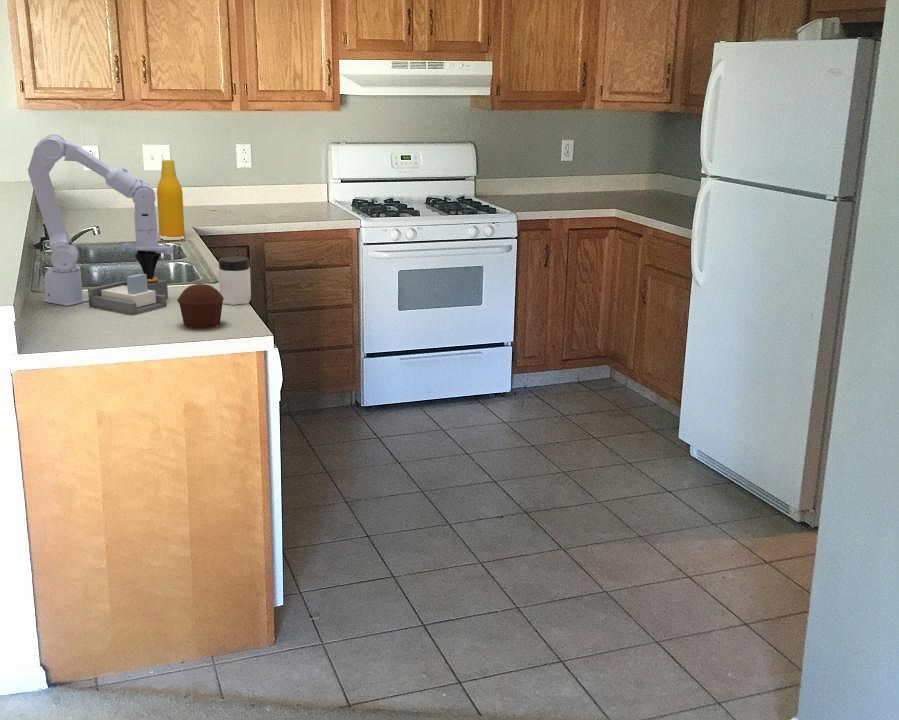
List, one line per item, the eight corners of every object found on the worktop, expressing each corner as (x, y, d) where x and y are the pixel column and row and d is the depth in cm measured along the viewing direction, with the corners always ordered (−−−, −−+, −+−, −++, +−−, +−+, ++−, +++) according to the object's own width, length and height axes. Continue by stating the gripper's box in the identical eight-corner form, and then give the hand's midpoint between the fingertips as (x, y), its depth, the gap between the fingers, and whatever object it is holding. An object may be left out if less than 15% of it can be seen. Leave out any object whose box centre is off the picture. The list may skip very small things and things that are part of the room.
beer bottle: (169, 236, 371) (165, 159, 362) (190, 238, 367) (186, 160, 359) (154, 239, 362) (149, 160, 354) (175, 241, 359) (170, 162, 351)
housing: (89, 307, 259) (87, 288, 258) (143, 294, 275) (142, 276, 274) (132, 315, 252) (131, 296, 250) (186, 301, 268) (185, 283, 266)
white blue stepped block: (102, 301, 259) (99, 273, 257) (124, 296, 266) (122, 269, 263) (134, 307, 254) (132, 279, 252) (156, 302, 260) (154, 274, 258)
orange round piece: (138, 293, 268) (137, 278, 267) (150, 291, 272) (149, 275, 271) (150, 295, 266) (149, 280, 265) (162, 293, 270) (161, 277, 269)
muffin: (183, 318, 250) (181, 280, 247) (227, 319, 250) (226, 280, 248) (174, 330, 238) (172, 290, 235) (220, 330, 239) (218, 290, 236)
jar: (223, 297, 273) (221, 255, 270) (252, 298, 274) (251, 256, 270) (217, 305, 265) (215, 261, 261) (247, 305, 265) (246, 262, 262)
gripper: (114, 229, 262) (117, 279, 266) (162, 233, 259) (165, 283, 263) (128, 226, 269) (132, 274, 272) (176, 229, 265) (178, 278, 269)
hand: (149, 278), depth 268 cm, fingers closed, pressing on orange round piece
